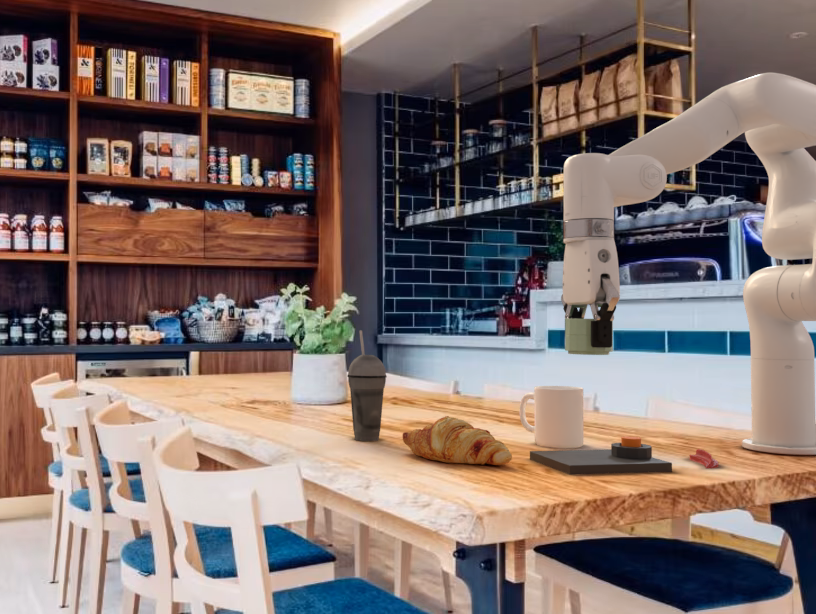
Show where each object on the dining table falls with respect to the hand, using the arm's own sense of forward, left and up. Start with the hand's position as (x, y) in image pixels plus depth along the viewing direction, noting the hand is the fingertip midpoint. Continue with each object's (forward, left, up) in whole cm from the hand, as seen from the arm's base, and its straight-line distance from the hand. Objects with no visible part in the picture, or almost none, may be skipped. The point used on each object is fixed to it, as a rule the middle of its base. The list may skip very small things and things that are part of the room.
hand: (588, 345), depth 130 cm
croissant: (+20, -5, -18) cm, 28 cm away
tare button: (-5, +3, -15) cm, 17 cm away
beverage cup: (+28, -29, -18) cm, 44 cm away
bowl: (0, 0, -1) cm, 1 cm away
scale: (0, +3, -18) cm, 18 cm away
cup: (-3, -19, -18) cm, 26 cm away
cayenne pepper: (-18, +3, -18) cm, 26 cm away
